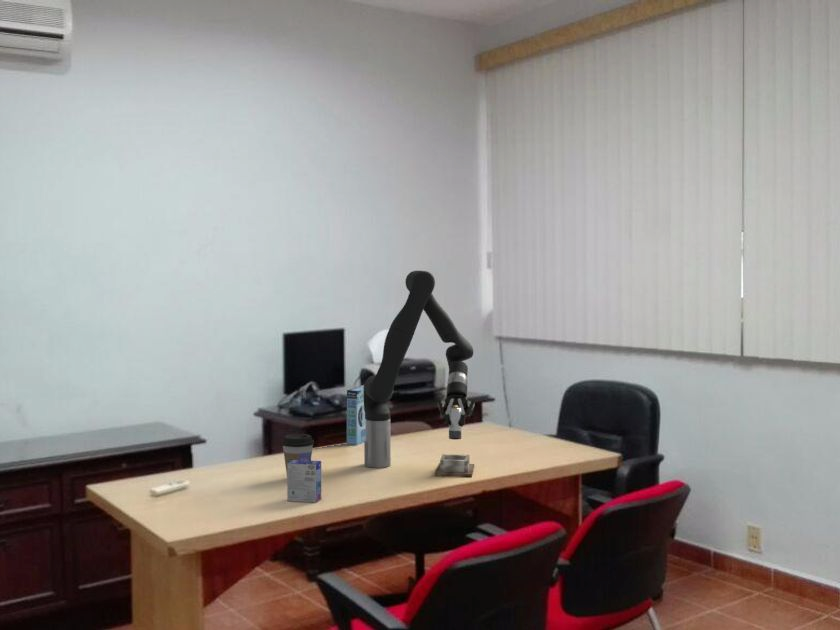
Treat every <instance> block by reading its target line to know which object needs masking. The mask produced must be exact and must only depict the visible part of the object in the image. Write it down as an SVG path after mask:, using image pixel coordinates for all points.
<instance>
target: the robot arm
mask: <svg viewBox="0 0 840 630" xmlns="http://www.w3.org/2000/svg"><path fill="white" fill-rule="evenodd" d="M404 283H405V287H406V289H407V290H408V292H409V293H408V296H407V299H406V301H405V303H404V305H403V306H402V307H401V309H400V310H399V312H398V313H397V315H396V316H395V318H394V319H393V321H392V322H391V323H390V326H389V328H388V332H387V333H386V336H385V340H384V345H383V349H382V350H383V352H382V359H381V363H380V366H379V368H378V370H377V372H376V373H375V374H374V375H370V376H368V378H367V379H366V380H365V381H364V383H363V385H364V411H365V418H366V440H365V441H364V449H363V450H364V457H363V458H364V460H363V461H364V467H367V468H373V469H374V468H376V469H378V468H379V469H381V468H387V467H390V466H391V460H392V459H391V453H392V452H391V445H392V444H391V410H390V409H389V401H388V399H390V398H391V396H392V395H393V391H394V388H395V385H396V381H397V377H398V374H399V371H400V368H401V367H402V364H403V362H404V360H405V357H406V354H407V352H408V350H409V347H410V346H411V343H412V340H413V338H414V335H415V333H416V329H417V327H418V324H419V322H420V320H421V316H422V314H423V311H424V313H425V314H426V316H427V317H428V318H429V320H430V322H431V324H432V325H433V327H434V329H435V331H436V333H437V334H438V336H439V338H440V339H441V341H442V342H443V343H445V344H449V343H452V345H450V346H448V347H447V348H446V351H445V358H446V361H447V365H448V376H447V377H448V378H447V381H446V383H447V384H446V397H445V399H444V400H440V399H438V400H437V406H438V410H439V413H440V417H441V418H444V425H445V426H446V427H449V407H452V405H458V407H461V428H463V426H465V424H466V418H471V416H472V414H473V411H474V409H475V405H476V404H475V401H474V400H468V388H469V387H468V374H469V373H468V370H469V369H468V365H467V363H466V362H464V361H467V360H469V359H472V358H473V356H474V348H473V346H472V344H471V343H470V342H469V340H468V339H466V338H465V337H464V336H463V335H462V334H461V332H460V331H458V329H457V327H456V325H455V324H454V322H453V320H452V319H451V317H450V315H449V314H448V313H447V311H446V310H445V309H444V308H443V307H442V306H441V304H439V302H438V301H437V299H436V298H435V296H434V294H433V291H434V290H435V286H436V281H435V277H434V275H433V273H431V272H430V271H428V270H412V271H410V272H409V273H408V274H407V275H406V277H405V282H404ZM444 406H446V407H447V408H446V410H445V411H444ZM466 406H467V407H468V408H467V410H466V411H465V409H464V408H465V407H466Z"/></svg>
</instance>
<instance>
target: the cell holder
mask: <svg viewBox="0 0 840 630" xmlns="http://www.w3.org/2000/svg"><path fill="white" fill-rule="evenodd" d="M473 469H474V470H475V464H474V463H470V454H445V453H444V454H441V458H440V460H439V463H438V465H437V467H436V469H435V472H434V476H435V477H450V476H468V477H467V478H472V477H473V475H474V474H473V473H474V470H473Z"/></svg>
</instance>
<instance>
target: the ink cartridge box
mask: <svg viewBox="0 0 840 630" xmlns="http://www.w3.org/2000/svg"><path fill="white" fill-rule="evenodd" d="M305 455H306V456H309V458H302V456H305ZM286 477H287V478H286V479H287V480H286V482H287V483H286V484H287V486H286V491H287V493H286V498H287V499H286V500H287V502H304V503H317V502H319V501H320V500H322V461H321V460H312V455H311V454H307V453H301V454H300V458H299V460H292V461H290V462H289V463H287V473H286Z"/></svg>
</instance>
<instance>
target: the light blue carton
mask: <svg viewBox="0 0 840 630" xmlns="http://www.w3.org/2000/svg"><path fill="white" fill-rule="evenodd" d="M365 440H366V418H365V411H364V384H362V385H359V386H356V387H353V388H350V389H347V390H346V445H347V446H348V445H349V446H358V445H360V444H362V443H363V442H364V441H365Z"/></svg>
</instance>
